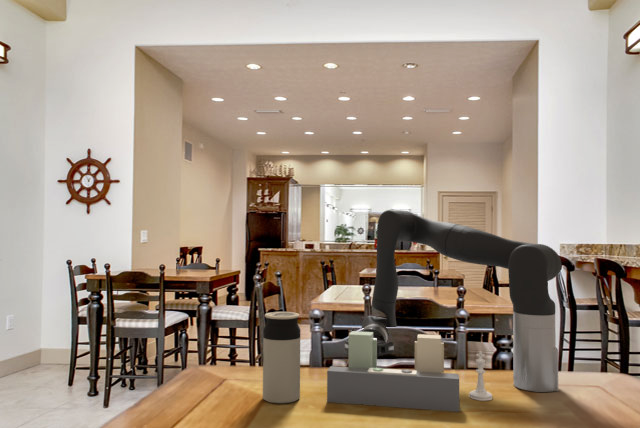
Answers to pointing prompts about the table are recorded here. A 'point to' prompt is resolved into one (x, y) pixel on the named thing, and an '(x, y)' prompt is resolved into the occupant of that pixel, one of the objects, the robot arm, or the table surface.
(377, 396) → the console
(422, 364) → the sand key
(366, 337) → the sage key
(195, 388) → the table surface
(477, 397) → the chess piece
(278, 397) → the travel mug
